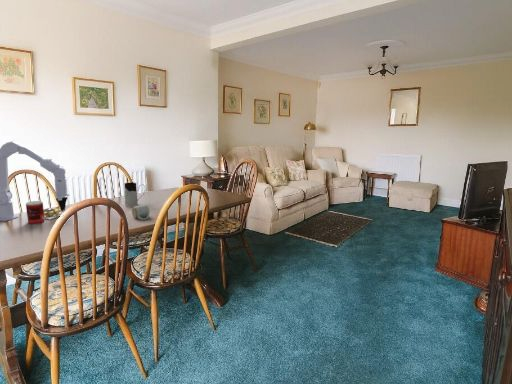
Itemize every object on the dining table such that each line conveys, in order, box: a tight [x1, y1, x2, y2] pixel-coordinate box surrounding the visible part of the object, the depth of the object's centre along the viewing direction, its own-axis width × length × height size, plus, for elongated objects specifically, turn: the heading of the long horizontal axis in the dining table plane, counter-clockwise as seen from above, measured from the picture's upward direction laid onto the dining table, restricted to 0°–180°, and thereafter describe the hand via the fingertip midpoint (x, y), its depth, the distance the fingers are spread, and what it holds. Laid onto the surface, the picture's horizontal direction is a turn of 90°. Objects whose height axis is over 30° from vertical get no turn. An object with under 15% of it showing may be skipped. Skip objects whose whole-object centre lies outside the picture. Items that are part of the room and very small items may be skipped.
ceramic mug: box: [131, 203, 150, 221], centre depth 190 cm, size 11×8×8 cm
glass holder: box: [123, 181, 146, 208], centre depth 219 cm, size 9×14×15 cm, turn 127°
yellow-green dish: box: [43, 207, 66, 216], centre depth 189 cm, size 13×10×5 cm
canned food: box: [25, 200, 45, 225], centre depth 175 cm, size 8×8×11 cm
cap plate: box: [44, 207, 63, 221], centre depth 188 cm, size 14×14×4 cm
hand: (62, 209), depth 191 cm, fingers closed
